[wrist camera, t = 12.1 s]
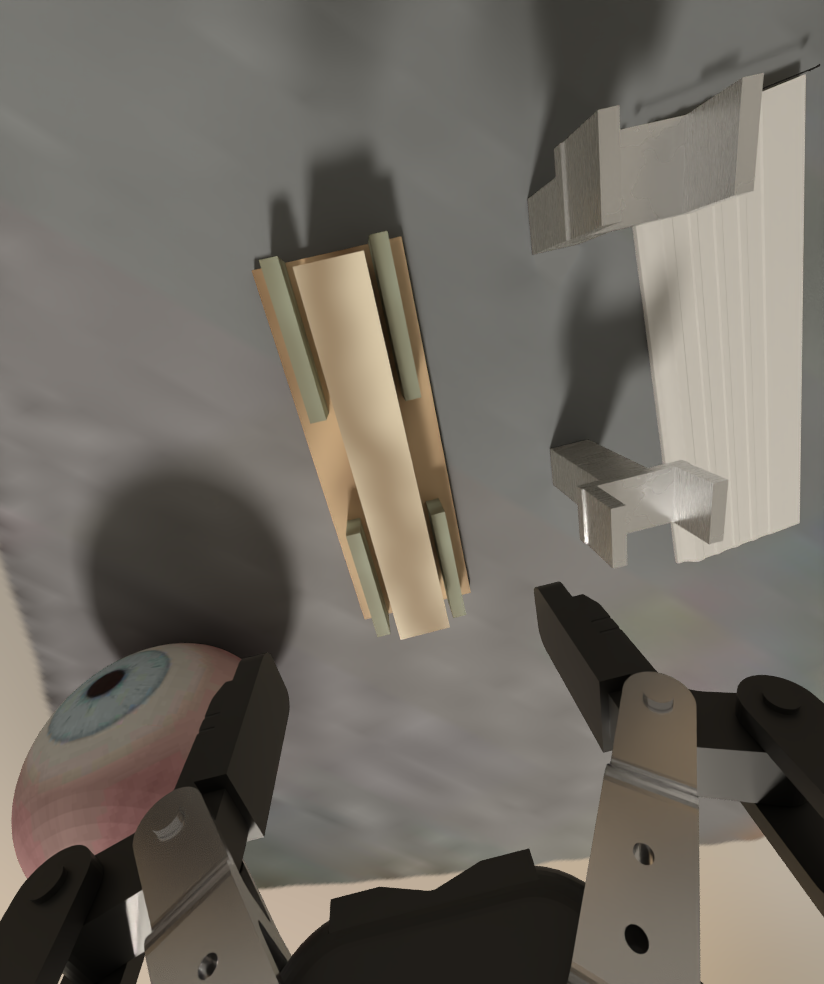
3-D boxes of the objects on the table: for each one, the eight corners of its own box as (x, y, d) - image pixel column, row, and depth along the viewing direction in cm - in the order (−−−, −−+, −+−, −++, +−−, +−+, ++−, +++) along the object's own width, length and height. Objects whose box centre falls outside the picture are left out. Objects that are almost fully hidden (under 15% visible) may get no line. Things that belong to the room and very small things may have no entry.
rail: (363, 263, 25) (363, 250, 20) (438, 589, 34) (449, 627, 30) (304, 277, 25) (292, 267, 20) (395, 600, 34) (400, 639, 30)
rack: (400, 238, 25) (405, 226, 22) (468, 588, 35) (478, 611, 32) (254, 271, 25) (240, 264, 22) (364, 614, 35) (365, 640, 32)
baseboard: (655, 564, 37) (783, 515, 37) (678, 582, 34) (816, 530, 34) (593, 162, 25) (780, 86, 25) (621, 142, 23) (831, 57, 22)
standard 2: (609, 430, 31) (730, 479, 21) (611, 474, 32) (725, 540, 22) (527, 450, 31) (608, 509, 21) (532, 493, 32) (610, 569, 22)
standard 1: (601, 176, 25) (766, 72, 15) (603, 243, 26) (756, 190, 16) (499, 200, 25) (595, 110, 15) (506, 266, 26) (599, 226, 16)
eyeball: (244, 575, 32) (155, 762, 18) (322, 705, 38) (300, 923, 24) (65, 639, 32) (-157, 873, 18) (169, 759, 38) (60, 1006, 24)
